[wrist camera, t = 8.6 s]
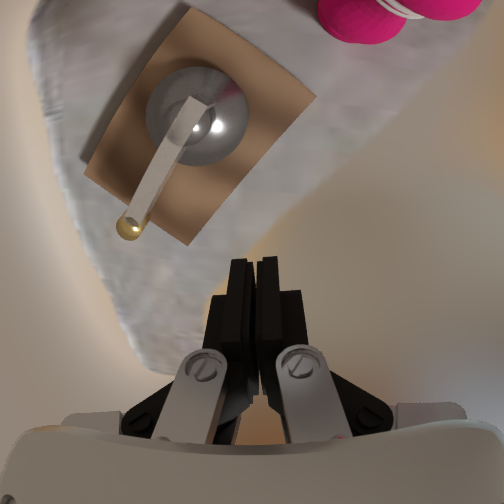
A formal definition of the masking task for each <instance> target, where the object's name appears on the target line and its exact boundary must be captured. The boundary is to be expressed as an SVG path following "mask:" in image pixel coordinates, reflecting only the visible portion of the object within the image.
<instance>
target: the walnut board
mask: <svg viewBox="0 0 504 504" xmlns="http://www.w3.org/2000/svg"><path fill="white" fill-rule="evenodd" d="M188 67H207V68H212V69H216V70H219V71H221V72H223V73H225V74H227V75H228V76H230V77H231V78H232V79H233V80H234V81H235V82H236V83H237V84H238V85H239V86H240V87H241V89H242V91H243V92H244V95H245V97H246V100H247V103H248V109H249V119H248V125H247V128H246V132H245V134H244V136H243V139H242V140H241V142H240V144H239V145H238V146H237V147H236V149H235V150H234V151H233V152H232V153H231V154H229V155H228V156H227V157H225V158H224V159H222V160H220V161H218V162H216V163H213V164H209V165H205V166H187V165H183V164H180V163H177V165H176V167H175V168H174V170H173V172H172V173H171V175H170V177H169V179H168V180H167V182H166V184H165V186H164V188H163V189H162V191H161V193H160V195H159V197H158V199H157V200H156V202H155V204H154V206H153V208H152V210H151V211H150V213H151V218H150V221H151V222H153V223H154V224H156V225H157V226H158V227H160V228H161V229H163V230H164V231H166V232H167V233H169V234H170V235H172V236H173V237H175V238H176V239H178V240H179V241H181V242H182V243H184V244H185V245H187V246H188V245H189V244H190V243H191V241H192V240H193V239H194V238H195V236H196V235H197V234H198V233H199V231H200V230H201V229H202V228H203V227H204V225H205V224H206V223H207V222H208V220H209V219H210V218H211V217H212V215H213V214H214V213H215V212H216V211H217V209H218V208H219V207H220V206H221V205H222V203H223V202H224V201H225V200H226V199H227V197H228V196H229V195H230V194H231V193H232V191H233V190H234V189H235V188H236V187H237V185H238V184H239V183H240V182H241V181H242V180H243V178H244V177H245V176H246V175H247V174H248V173H249V171H250V170H251V169H252V168H253V167H254V166H255V164H256V163H257V162H258V161H259V160H260V159H261V158H262V156H263V155H264V154H265V153H266V152H267V151H268V150H269V149H270V147H271V146H272V145H273V144H274V143H275V142H276V141H277V139H278V138H279V137H280V136H281V135H282V134H283V133H284V132H285V131H286V129H287V128H288V127H289V126H290V125H291V124H292V123H293V122H294V121H295V120H296V118H297V117H298V116H299V115H300V114H301V113H302V112H303V111H304V110H305V109H306V108H307V107H308V105H309V104H310V103H311V102H312V101H313V100H314V99H315V98H316V97H317V96H316V95H315V94H314V93H312V92H311V91H310V90H309V89H308V88H307V87H305V86H304V85H303V84H302V83H301V82H300V81H298V80H297V79H296V78H295V77H293V76H292V75H291V74H290V73H288V72H287V71H286V70H285V69H283V68H282V67H281V66H280V65H278V64H277V63H276V62H274V61H273V60H272V59H271V58H269V57H268V56H267V55H265V54H264V53H262V52H261V51H260V50H258V49H257V48H256V47H254V46H253V45H251V44H250V43H249V42H247V41H246V40H244V39H243V38H241V37H240V36H238V35H237V34H235V33H234V32H232V31H231V30H229V29H228V28H226V27H225V26H223V25H222V24H220V23H219V22H217V21H215V20H214V19H212V18H211V17H209V16H207V15H206V14H204V13H202V12H201V11H199V10H197V9H196V8H194V7H191V8H190V9H189V11H188V12H187V13H186V14H185V15H184V16H183V18H182V19H181V20H180V21H179V22H178V24H177V25H176V26H175V27H174V29H173V30H172V31H171V32H170V34H169V35H168V36H167V37H166V39H165V40H164V41H163V43H162V44H161V45H160V47H159V48H158V49H157V51H156V52H155V53H154V55H153V56H152V58H151V59H150V60H149V62H148V63H147V65H146V66H145V67H144V69H143V70H142V72H141V73H140V75H139V76H138V78H137V79H136V81H135V82H134V84H133V85H132V87H131V89H130V90H129V92H128V93H127V95H126V96H125V98H124V100H123V101H122V103H121V105H120V106H119V108H118V110H117V111H116V113H115V115H114V116H113V118H112V120H111V122H110V124H109V125H108V127H107V129H106V131H105V133H104V134H103V136H102V138H101V140H100V142H99V144H98V146H97V148H96V150H95V152H94V154H93V156H92V158H91V160H90V162H89V164H88V166H87V168H86V170H85V172H84V175H86V176H87V177H88V178H90V179H91V180H93V181H94V182H95V183H97V184H98V185H100V186H101V187H102V188H104V189H105V190H107V191H108V192H109V193H111V194H112V195H114V196H115V197H117V198H118V199H119V200H121V201H122V202H124V203H125V204H127V205H128V206H129V205H130V203H131V201H132V198H133V196H134V194H135V192H136V190H137V188H138V186H139V184H140V182H141V180H142V178H143V176H144V174H145V172H146V170H147V168H148V167H149V165H150V163H151V161H152V159H153V157H154V155H155V153H156V152H157V150H158V149H157V148H156V146H155V145H154V144H153V142H152V140H151V138H150V136H149V133H148V131H147V126H146V108H147V104H148V101H149V98H150V96H151V94H152V92H153V91H154V89H155V88H156V86H157V85H158V84H159V83H160V82H161V81H162V80H163V79H164V78H166V77H167V76H168V75H170V74H172V73H174V72H176V71H178V70H181V69H184V68H188Z"/></svg>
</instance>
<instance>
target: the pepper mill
mask: <svg viewBox="0 0 504 504" xmlns="http://www.w3.org/2000/svg"><path fill="white" fill-rule="evenodd" d="M481 1H482V0H319V2H318V6H317V14H318V18H319V21H320V23H321V25H322V26H323V28H324V29H325V30H326V31H327V32H328V33H329V34H330V35H332V36H333V37H335V38H336V39H338V40H341V41H344V42H347V43H361V44H378V43H382V42H385V41H387V40H389V39H391V38H393V37H394V36H396V35H397V34H398V32H399V31H400V30H401V29H402V27H403V26H404V24H405V22H406V19H407V18H409V19H419V18H424V17H426V18H429V19H433V20H443V21H447V20H456V19H460V18H462V17H465V16H467V15H469V14H470V13H472V12H473V11H475V9H476V8H477V7H478V6H479V5H480V3H481Z"/></svg>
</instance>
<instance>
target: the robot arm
mask: <svg viewBox="0 0 504 504" xmlns="http://www.w3.org/2000/svg"><path fill="white" fill-rule="evenodd" d="M259 371H260V377H261V384H262V390H263V395H267V397H268V404H269V406H270V407H271V408H272V409H274V410H275V411H276V412H278V413H279V414H280V419H281V424H282V429H283V434H284V438H285V444H278V445H235V443H236V438H237V435H238V430H239V426H240V422H241V415H242V412H243V411H244V410H246V409H247V408H248V407H249V406H250V404H253V395H259ZM0 504H504V435H503V433H502V432H501V431H500V430H499V429H498V428H497V427H495V426H494V425H491V424H489V423H486V422H482V421H477V420H468V419H467V415H466V412H465V410H464V409H463V408H462V407H461V406H460V405H458V404H457V403H453V402H438V403H398V404H397V406H388V405H387V404H386V403H384V402H383V401H381V400H380V399H378V398H376V397H374V396H373V395H371V394H369V393H367V392H366V391H364V390H362V389H361V388H359V387H357V386H355V385H354V384H352V383H350V382H349V381H347V380H345V379H344V378H342V377H340V376H339V375H337V374H335V373H333V372H332V371H330V370H329V368H328V365H327V362H326V360H325V357H324V356H323V354H322V353H321V352H320V351H319V350H318V349H317V348H315V347H312V346H310V345H308V337H307V329H306V322H305V315H304V309H303V301H302V294H301V290H291V291H280V288H279V275H278V259H277V256H273V257H263V261H258V262H257V283H255V276H254V267H253V262H247V259H246V258H244V259H232V260H231V266H230V273H229V280H228V287H227V294H226V295H213V296H212V299H211V304H210V310H209V315H208V320H207V325H206V330H205V336H204V341H203V347H202V349H200V350H196V351H194V352H192V353H190V354H189V355H187V356H186V357H185V358H184V360H183V361H182V363H181V365H180V367H179V370H178V372H177V375H176V377H175V379H174V381H172V382H171V383H170V384H168V385H166V386H165V387H163V388H162V389H160V390H159V391H157V392H156V393H154V394H153V395H151V396H150V397H148V398H147V399H145V400H143V401H142V402H140V403H139V404H137V405H136V406H134V407H133V408H131V409H130V410H129V411H127V412H126V413H121V412H120V411H113V412H98V413H76V414H71V415H69V416H67V417H66V418H65V419H64V420H63V421H62V423H61V425H51V426H50V425H49V426H42V427H37V428H33V429H30V430H28V431H26V432H24V433H23V434H21V435H20V436H19V437H18V439H17V440H16V441H15V443H14V445H13V447H12V449H11V451H10V453H9V455H8V457H7V459H6V462H5V464H4V467H3V470H2V473H1V476H0Z"/></svg>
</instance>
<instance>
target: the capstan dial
mask: <svg viewBox="0 0 504 504" xmlns="http://www.w3.org/2000/svg"><path fill="white" fill-rule="evenodd" d="M248 119H249V109H248V103H247V100H246V97H245V95H244V92H243V91H242V89H241V87H240V86H239V85H238V84H237V83H236V82H235V81H234V80H233V79H232V78H231V77H230V76H228V75H227V74H225V73H223V72H221V71H219V70H216V69H212V68H207V67H188V68H184V69H181V70H178V71H176V72H174V73H172V74H170V75H168V76H167V77H166V78H164V79H163V80H162V81H161V82H160V83H159V84H158V85H157V86H156V88H155V89H154V91H153V92H152V94H151V96H150V98H149V101H148V104H147V108H146V126H147V131H148V133H149V136H150V138H151V140H152V142H153V144H154V145H155V146H156V148H157V149H158V150H157V152H156V153H155V155H154V157H153V159H152V161H151V163H150V165H149V167H148V168H147V170H146V172H145V174H144V176H143V178H142V180H141V182H140V184H139V186H138V188H137V190H136V192H135V194H134V196H133V198H132V201H131V203H130V205H129V207H128V209H127V210H126V211H125V212H124V214H123V215H122V216H121V217H120V218H119V219H118V221H117V223H116V230H117V232H118V234H119V235H120V236H121V237H122V238H123V239H125V240H129V241H132V240H135V239H137V238H138V237H139V236H140V234H141V233H142V231H143V230H144V228H145V227H146V225H147V224H148V222H149V221H150V218H151V213H150V211H151V210H152V208H153V206H154V204H155V202H156V200H157V199H158V197H159V195H160V193H161V191H162V189H163V188H164V186H165V184H166V182H167V180H168V179H169V177H170V175H171V173H172V172H173V170H174V168H175V167H176V165H177V163H180V164H183V165H187V166H205V165H209V164H213V163H216V162H218V161H220V160H222V159H224V158H225V157H227V156H228V155H229V154H231V153H232V152H233V151H234V150H235V149H236V147H237V146H238V145H239V144H240V142H241V140H242V139H243V136H244V134H245V132H246V128H247V125H248Z"/></svg>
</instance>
